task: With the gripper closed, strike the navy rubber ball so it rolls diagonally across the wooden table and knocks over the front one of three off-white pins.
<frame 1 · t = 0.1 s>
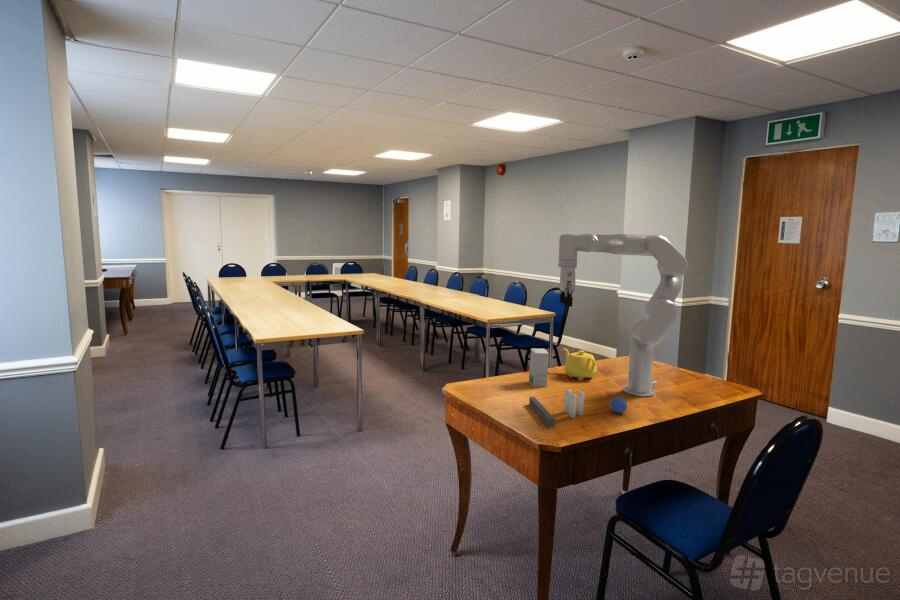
hand: (565, 304, 206), 37 cm above the table, tool pointing down, fingers open, 9 cm apart
skincare box: (538, 384, 220), on the table
back left pin: (572, 416, 181), on the table
teapot: (577, 376, 233), on the table
front pin: (580, 414, 183), on the table
ball: (618, 405, 185), on the table
back right pin: (567, 411, 185), on the table
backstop: (541, 415, 182), on the table
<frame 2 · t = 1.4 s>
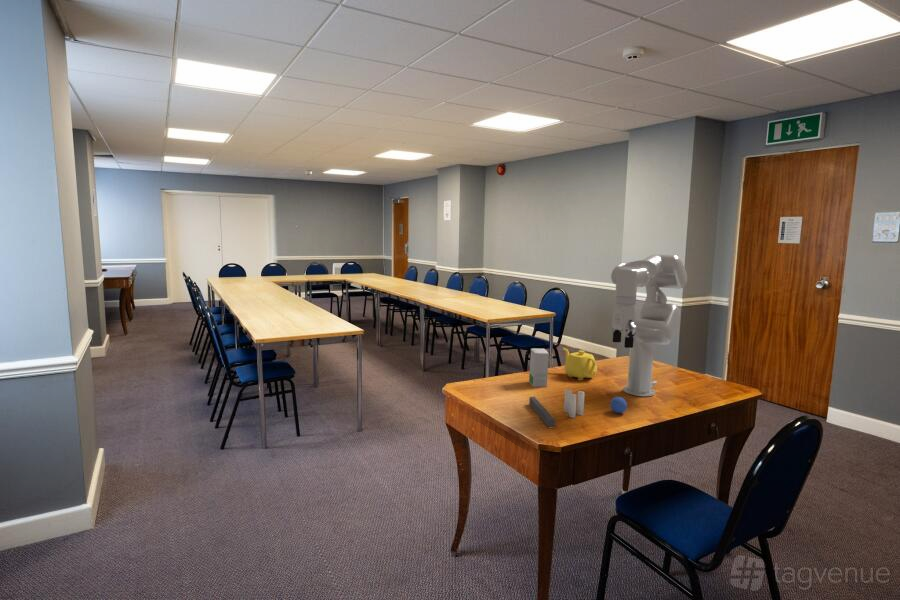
hand: (622, 344, 189), 25 cm above the table, tool pointing down, fingers open, 9 cm apart
nothing on the table moved.
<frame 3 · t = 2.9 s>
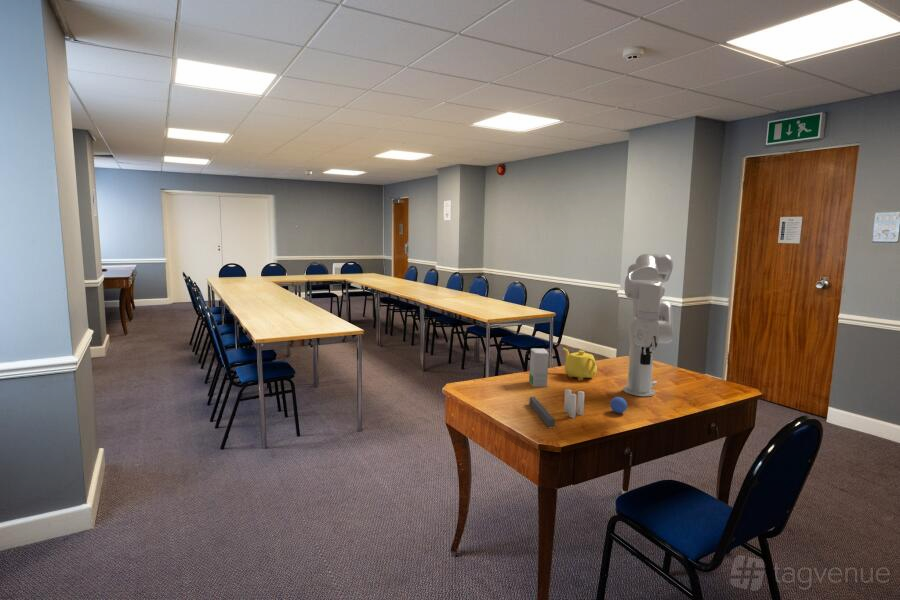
hand: (645, 364, 184), 19 cm above the table, tool pointing down, fingers closed
nothing on the table moved.
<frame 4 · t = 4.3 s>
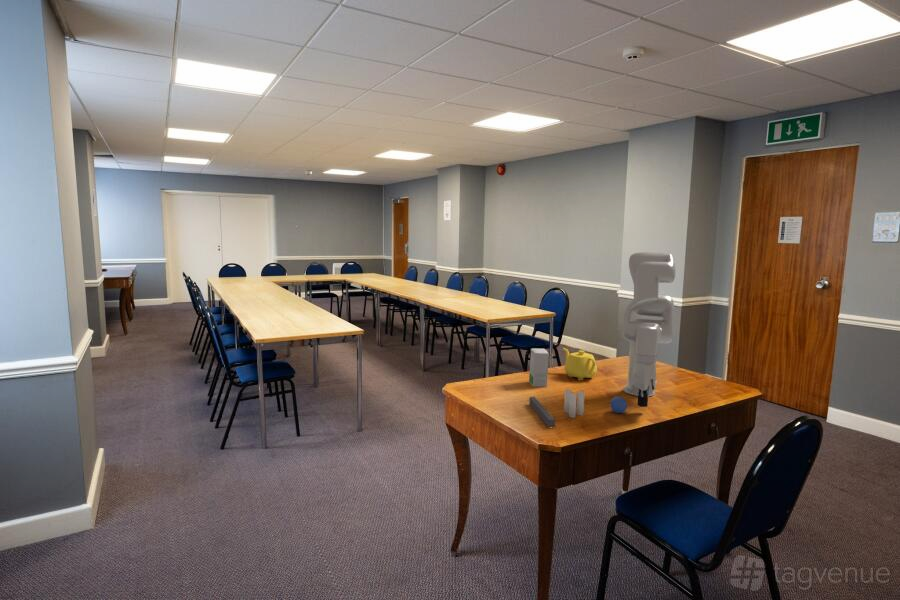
hand: (642, 406, 186), 3 cm above the table, tool pointing down, fingers closed
nothing on the table moved.
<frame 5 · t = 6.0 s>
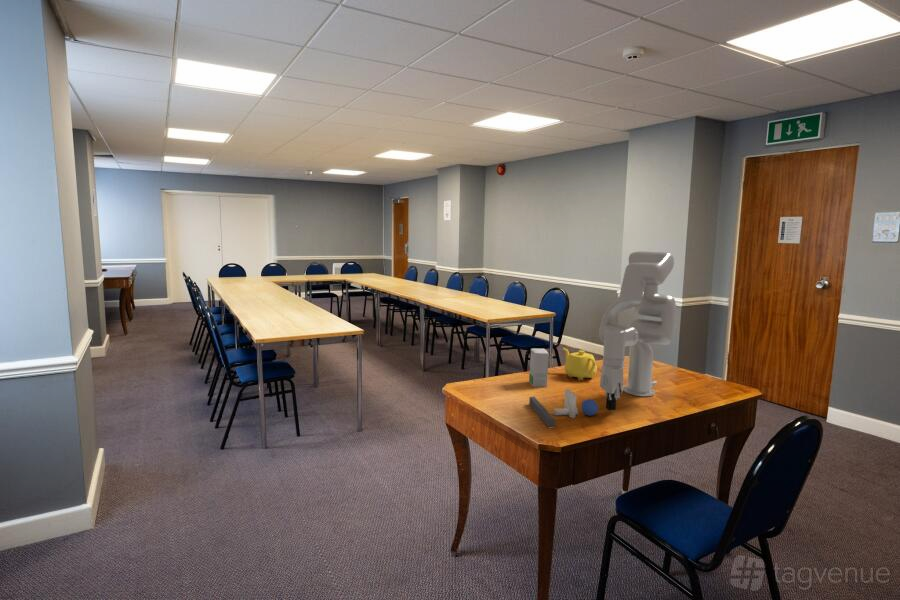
hand: (610, 409, 185), 2 cm above the table, tool pointing down, fingers closed
front pin: (576, 411, 183), point 1 cm above the table, tilted 90°
ball: (589, 407, 182), on the table
everything else where it was.
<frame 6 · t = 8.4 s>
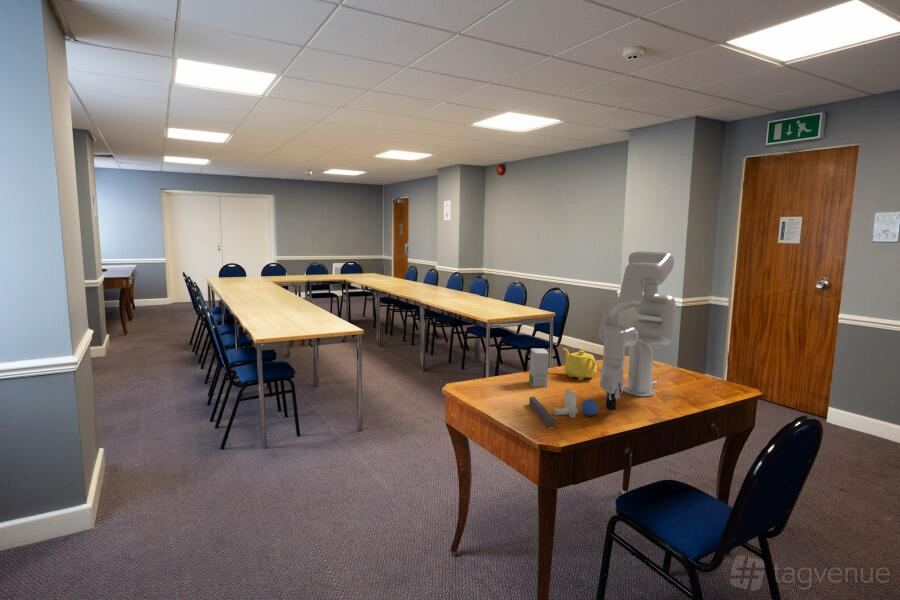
hand: (610, 409, 185), 2 cm above the table, tool pointing down, fingers closed
nothing on the table moved.
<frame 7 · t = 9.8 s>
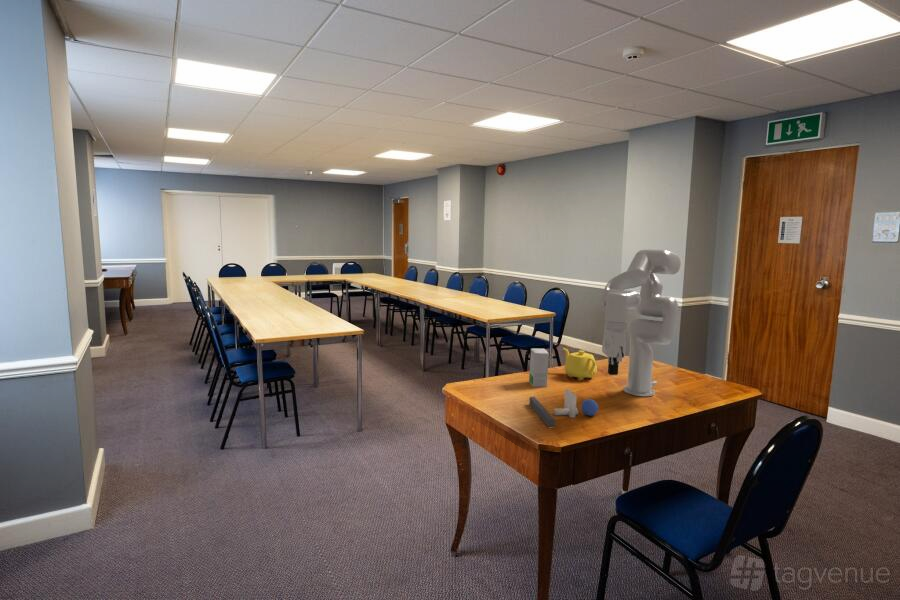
hand: (612, 374, 183), 15 cm above the table, tool pointing down, fingers closed
nothing on the table moved.
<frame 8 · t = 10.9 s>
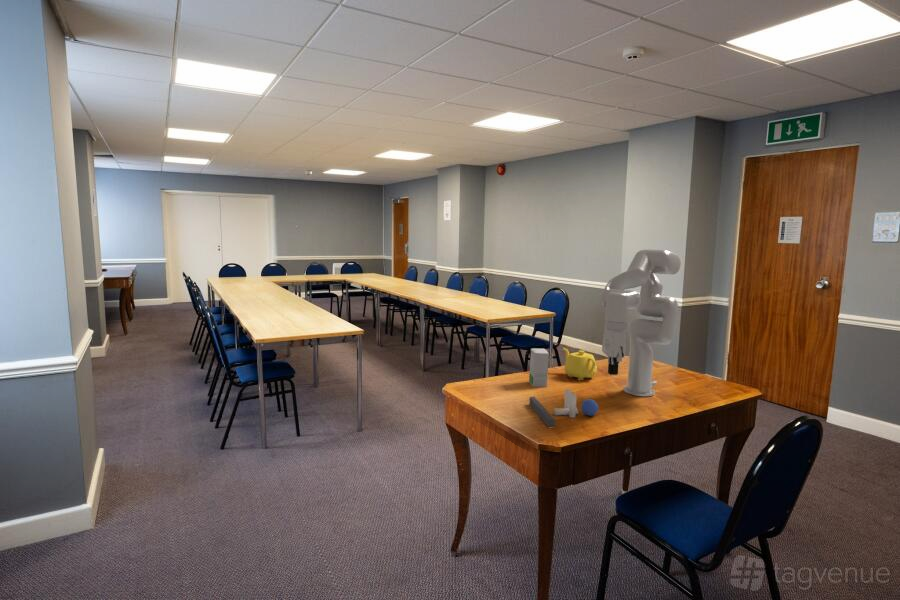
hand: (612, 374, 183), 15 cm above the table, tool pointing down, fingers closed
nothing on the table moved.
at the end: front pin tilted 90°; front pin never touched the robot; ball moved 12.0 cm from its start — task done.
